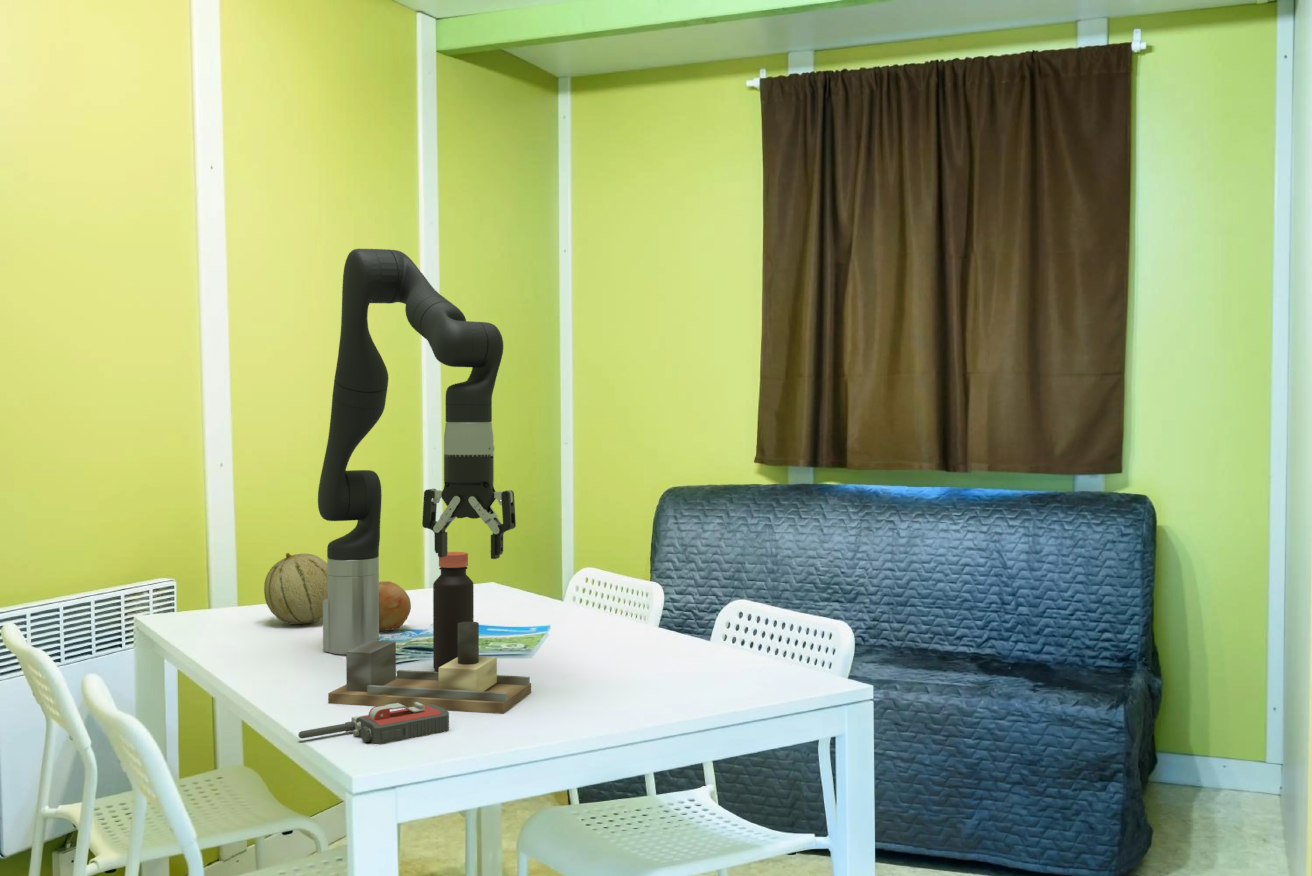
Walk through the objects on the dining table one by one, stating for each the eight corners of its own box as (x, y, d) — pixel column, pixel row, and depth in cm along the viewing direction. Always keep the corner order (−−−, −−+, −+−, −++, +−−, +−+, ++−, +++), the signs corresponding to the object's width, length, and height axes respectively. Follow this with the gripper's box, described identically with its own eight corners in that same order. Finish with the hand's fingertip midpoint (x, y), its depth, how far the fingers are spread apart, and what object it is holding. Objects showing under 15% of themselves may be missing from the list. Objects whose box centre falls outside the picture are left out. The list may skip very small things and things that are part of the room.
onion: (421, 628, 238) (421, 579, 238) (388, 637, 229) (388, 586, 229) (384, 624, 243) (383, 576, 242) (350, 632, 234) (350, 582, 234)
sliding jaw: (438, 694, 177) (438, 628, 176) (460, 680, 185) (460, 617, 185) (476, 696, 175) (476, 629, 175) (496, 682, 184) (496, 619, 184)
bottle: (440, 675, 197) (439, 556, 196) (428, 667, 203) (428, 552, 202) (478, 671, 200) (478, 554, 199) (466, 664, 206) (466, 550, 205)
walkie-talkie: (429, 719, 171) (295, 743, 158) (429, 688, 171) (295, 711, 158) (459, 732, 164) (321, 759, 152) (459, 701, 164) (321, 725, 151)
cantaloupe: (353, 622, 246) (352, 550, 245) (297, 633, 233) (296, 558, 233) (304, 615, 253) (304, 545, 253) (248, 625, 241) (247, 552, 241)
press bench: (328, 703, 178) (328, 654, 178) (366, 683, 191) (366, 637, 191) (503, 713, 172) (503, 662, 172) (531, 692, 185) (531, 645, 185)
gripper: (415, 452, 177) (415, 559, 178) (505, 453, 174) (505, 562, 175) (434, 450, 185) (434, 553, 185) (521, 451, 182) (521, 556, 182)
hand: (469, 557), depth 180 cm, fingers open, 8 cm apart
